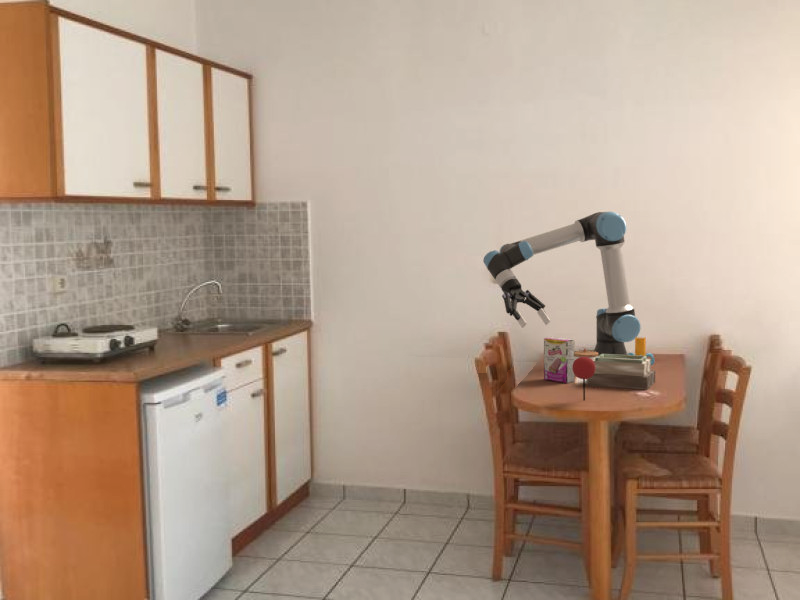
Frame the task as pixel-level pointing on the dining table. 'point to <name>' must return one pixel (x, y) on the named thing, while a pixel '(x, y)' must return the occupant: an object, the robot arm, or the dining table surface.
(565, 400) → the dining table surface
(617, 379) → the tower base
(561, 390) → the dining table surface
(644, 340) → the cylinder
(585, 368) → the lollipop
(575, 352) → the lidded jar
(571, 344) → the candy bar box
